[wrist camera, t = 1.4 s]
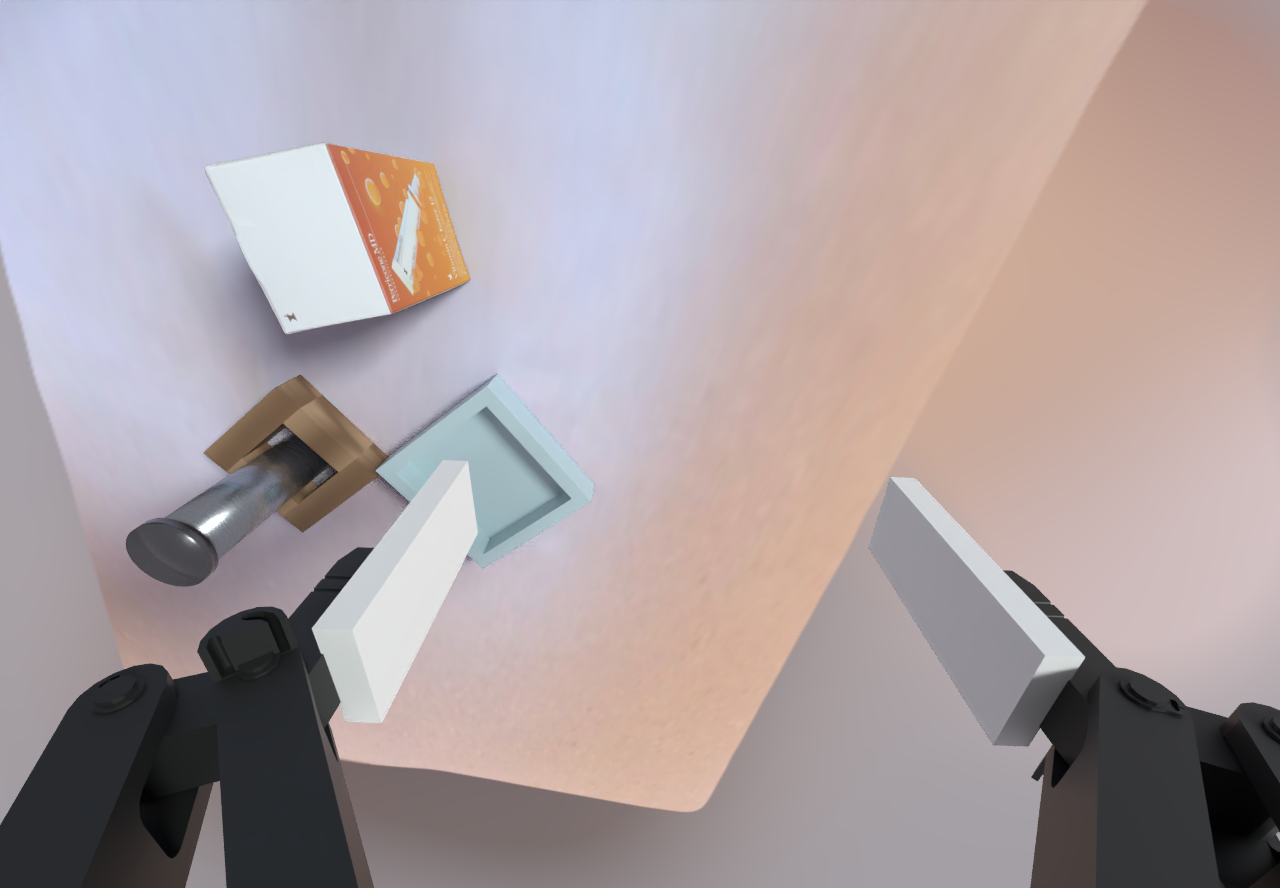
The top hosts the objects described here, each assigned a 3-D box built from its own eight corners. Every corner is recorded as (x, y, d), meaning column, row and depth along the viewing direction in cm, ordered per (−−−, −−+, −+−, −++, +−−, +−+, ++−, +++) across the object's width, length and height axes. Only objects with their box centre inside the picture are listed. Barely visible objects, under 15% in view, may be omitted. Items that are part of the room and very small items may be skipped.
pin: (273, 443, 44) (110, 549, 30) (306, 414, 42) (152, 513, 29) (317, 481, 45) (181, 597, 32) (350, 454, 44) (223, 564, 31)
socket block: (230, 437, 43) (203, 452, 41) (300, 374, 41) (276, 387, 38) (322, 513, 47) (302, 532, 44) (392, 460, 44) (375, 477, 42)
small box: (473, 280, 37) (394, 318, 26) (394, 295, 38) (282, 338, 26) (435, 159, 34) (323, 139, 22) (349, 177, 34) (195, 166, 23)
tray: (391, 454, 44) (375, 470, 41) (497, 373, 40) (486, 386, 38) (491, 548, 49) (482, 568, 46) (594, 483, 45) (591, 501, 42)
